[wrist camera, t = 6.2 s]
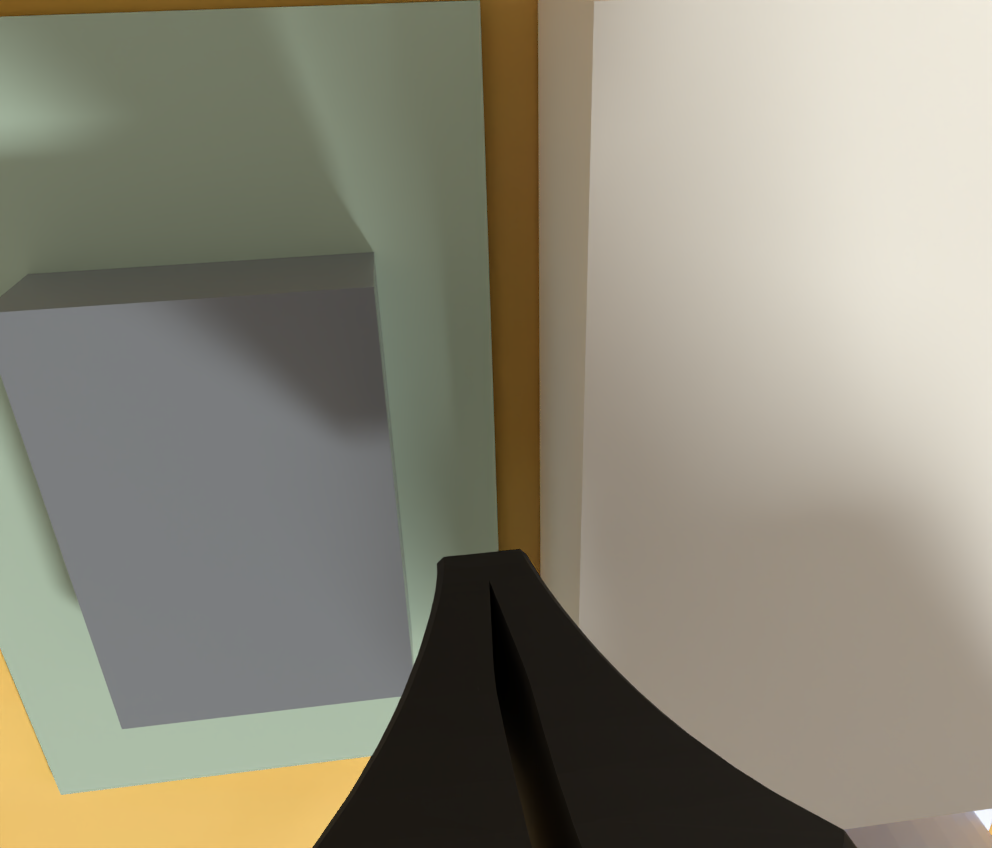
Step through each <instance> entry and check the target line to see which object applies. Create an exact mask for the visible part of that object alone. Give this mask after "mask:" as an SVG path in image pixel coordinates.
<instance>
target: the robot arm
mask: <svg viewBox="0 0 992 848" xmlns="http://www.w3.org/2000/svg"><path fill="white" fill-rule="evenodd" d="M991 823H992V809H986V810H979V811H972V812H965V813H957V814H950V815H943V816H936V817H929V818H922V819H915V820H908V821H901V822H894V823H887V824H880V825H873V826H866V827H859V828H852V829H845V830H843V829H841V828H840V827H838V826H836V825H834V824H832V823H830V822H828V821H827V820H825V819H823V818H821V817H819V816H817V815H816V814H814V813H812V812H810V811H808V810H806V809H804V808H803V807H801V806H799V805H797V804H795V803H793V802H792V801H790V800H788V799H786V798H784V797H782V796H781V795H779V794H777V793H775V792H774V791H772V790H770V789H769V788H767V787H765V786H764V785H762V784H761V783H759V782H758V781H756V780H754V779H753V778H751V777H750V776H748V775H746V774H745V773H743V772H742V771H740V770H739V769H737V768H735V767H734V766H733V765H731V764H730V763H728V762H727V761H726V760H724V759H723V758H722V757H720V756H719V755H717V754H716V753H715V752H713V751H712V750H710V749H709V748H708V747H706V746H705V745H704V744H702V743H701V742H699V741H698V740H697V739H695V738H694V737H692V736H691V735H690V734H688V733H687V732H686V731H685V730H683V729H682V728H681V727H680V726H679V725H677V724H676V723H675V722H674V721H673V720H671V719H670V718H669V717H668V716H666V715H665V714H664V713H663V712H662V711H660V710H659V709H658V708H657V707H656V706H655V705H654V704H653V703H651V702H650V701H649V700H648V699H647V698H646V697H645V696H644V695H643V694H641V693H640V692H639V691H638V690H637V689H636V688H635V687H634V686H633V685H632V684H631V683H630V682H629V681H628V680H627V679H626V678H625V677H624V676H623V675H622V674H621V673H620V672H619V671H618V670H617V669H616V668H615V667H614V666H613V665H612V664H611V663H610V662H609V661H608V660H607V659H606V658H605V657H604V656H603V654H602V653H601V652H600V651H599V650H598V649H597V648H596V647H595V646H594V645H593V643H592V642H591V641H590V640H589V639H588V638H587V637H586V635H585V634H584V633H583V632H582V631H581V629H580V628H579V627H578V626H577V625H576V623H575V622H574V621H573V620H572V619H571V617H570V616H569V615H568V614H567V612H566V611H565V610H564V609H563V607H562V606H561V605H560V603H559V602H558V601H557V599H556V598H555V597H554V595H553V594H552V593H551V591H550V590H549V588H548V587H547V586H546V584H545V583H544V581H543V580H542V578H541V577H540V575H539V574H538V572H537V571H536V569H535V568H534V566H533V565H532V563H531V561H530V560H529V558H528V556H527V554H525V553H524V552H523V551H522V550H520V549H516V550H506V551H496V552H486V553H476V554H466V555H456V556H447V557H443V558H442V559H441V560H440V561H439V562H438V563H437V580H436V588H435V594H434V599H433V603H432V608H431V612H430V616H429V620H428V623H427V626H426V630H425V633H424V636H423V640H422V643H421V646H420V649H419V652H418V655H417V658H416V660H415V663H414V666H413V668H412V671H411V673H410V676H409V678H408V681H407V684H406V686H405V689H404V691H403V694H402V696H401V698H400V700H399V703H398V705H397V707H396V709H395V711H394V714H393V716H392V718H391V720H390V722H389V724H388V726H387V728H386V730H385V732H384V734H383V736H382V738H381V740H380V742H379V744H378V746H377V747H376V749H375V751H374V753H373V754H372V756H371V758H370V760H369V761H368V763H367V765H366V767H365V769H364V770H363V772H362V774H361V776H360V777H359V779H358V781H357V782H356V784H355V786H354V787H353V789H352V790H351V792H350V794H349V795H348V797H347V798H346V800H345V801H344V803H343V804H342V806H341V807H340V809H339V810H338V811H337V813H336V814H335V816H334V817H333V819H332V820H331V822H330V823H329V825H328V826H327V827H326V829H325V830H324V832H323V833H322V835H321V836H320V838H319V839H318V841H317V842H316V843H315V845H314V846H313V848H992V835H991V834H990V833H989V829H990V826H991Z"/></svg>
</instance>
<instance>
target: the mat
mask: <svg viewBox="0 0 992 848" xmlns="http://www.w3.org/2000/svg"><path fill="white" fill-rule="evenodd" d="M365 252H374V256H375V266H376V276H377V286H378V296H379V306H380V316H381V326H382V336H383V346H384V356H385V366H386V376H387V386H388V396H389V406H390V416H391V426H392V436H393V446H394V456H395V466H396V476H397V486H398V496H399V506H400V516H401V526H402V536H403V546H404V556H405V566H406V576H407V586H408V596H409V606H410V616H411V626H412V641H413V659H414V663H415V660H416V658H417V655H418V652H419V649H420V646H421V643H422V640H423V636H424V633H425V630H426V626H427V623H428V620H429V616H430V612H431V608H432V603H433V599H434V594H435V588H436V580H437V563H438V562H439V561H440V560H441V559H442V558H443V557H447V556H456V555H466V554H476V553H486V552H496V551H499V549H498V519H497V489H496V460H495V430H494V400H493V371H492V341H491V311H490V282H489V252H488V223H487V193H486V163H485V134H484V104H483V74H482V45H481V15H480V0H469V1H440V2H411V3H382V4H353V5H323V6H294V7H265V8H236V9H207V10H178V11H148V12H119V13H90V14H61V15H32V16H3V17H0V296H1V295H3V294H4V293H5V292H6V291H8V290H9V289H10V288H11V287H13V286H14V285H15V284H16V283H17V282H19V281H20V280H21V279H22V278H24V277H25V276H26V275H27V274H35V273H51V272H67V271H82V270H98V269H114V268H129V267H145V266H161V265H177V264H192V263H208V262H224V261H239V260H255V259H271V258H287V257H302V256H318V255H334V254H349V253H365ZM0 649H1V651H2V654H3V656H4V659H5V661H6V663H7V666H8V668H9V671H10V673H11V675H12V678H13V680H14V683H15V685H16V688H17V690H18V692H19V695H20V697H21V700H22V702H23V704H24V707H25V709H26V712H27V714H28V716H29V719H30V721H31V724H32V726H33V728H34V731H35V733H36V736H37V738H38V740H39V743H40V745H41V748H42V750H43V753H44V755H45V757H46V760H47V762H48V765H49V767H50V769H51V772H52V774H53V777H54V779H55V781H56V784H57V786H58V789H59V791H60V793H61V795H63V794H71V793H79V792H87V791H95V790H103V789H111V788H119V787H127V786H135V785H143V784H151V783H159V782H167V781H175V780H183V779H191V778H199V777H207V776H215V775H223V774H231V773H239V772H247V771H255V770H263V769H271V768H279V767H288V766H296V765H304V764H312V763H320V762H328V761H336V760H344V759H352V758H360V757H368V756H372V754H373V753H374V751H375V749H376V747H377V746H378V744H379V742H380V740H381V738H382V736H383V734H384V732H385V730H386V728H387V726H388V724H389V722H390V720H391V718H392V716H393V714H394V711H395V709H396V707H397V705H398V703H399V700H400V698H401V697H392V698H384V699H375V700H367V701H358V702H350V703H341V704H333V705H324V706H316V707H307V708H299V709H290V710H282V711H273V712H265V713H256V714H248V715H239V716H231V717H222V718H214V719H205V720H197V721H189V722H180V723H172V724H163V725H155V726H146V727H138V728H129V729H122V728H121V725H120V722H119V719H118V716H117V713H116V711H115V708H114V705H113V702H112V699H111V696H110V693H109V690H108V687H107V684H106V681H105V678H104V676H103V673H102V670H101V667H100V664H99V661H98V658H97V655H96V652H95V649H94V646H93V643H92V641H91V638H90V635H89V632H88V629H87V626H86V623H85V620H84V617H83V614H82V611H81V609H80V606H79V603H78V600H77V597H76V594H75V591H74V588H73V585H72V582H71V579H70V576H69V574H68V571H67V568H66V565H65V562H64V559H63V556H62V553H61V550H60V547H59V544H58V541H57V539H56V536H55V533H54V530H53V527H52V524H51V521H50V518H49V515H48V512H47V509H46V507H45V504H44V501H43V498H42V495H41V492H40V489H39V486H38V483H37V480H36V477H35V474H34V472H33V469H32V466H31V463H30V460H29V457H28V454H27V451H26V448H25V445H24V442H23V440H22V437H21V434H20V431H19V428H18V425H17V422H16V419H15V416H14V413H13V410H12V407H11V405H10V402H9V399H8V396H7V393H6V390H5V387H4V384H3V381H2V378H1V375H0Z"/></svg>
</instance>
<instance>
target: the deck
mask: <svg viewBox="0 0 992 848" xmlns="http://www.w3.org/2000/svg"><path fill="white" fill-rule="evenodd" d="M538 132H539V370H540V577H541V578H542V580H543V581H544V583H545V584H546V586H547V587H548V588H549V590H550V591H551V593H552V594H553V595H554V597H555V598H556V599H557V601H558V602H559V603H560V605H561V606H562V607H563V609H564V610H565V611H566V612H567V614H568V615H569V616H570V617H571V619H572V620H573V621H574V622H575V623H576V625H577V626H578V627H579V628H580V629H581V631H582V632H583V633H584V634H585V635H586V637H587V638H588V639H589V640H590V641H591V642H592V643H593V645H594V646H595V647H596V648H597V649H598V650H599V651H600V652H601V653H602V654H603V656H604V657H605V658H606V659H607V660H608V661H609V662H610V663H611V664H612V665H613V666H614V667H615V668H616V669H617V670H618V671H619V672H620V673H621V674H622V675H623V676H624V677H625V678H626V679H627V680H628V681H629V682H630V683H631V684H632V685H633V686H634V687H635V688H636V689H637V690H638V691H639V692H640V693H641V694H643V695H644V696H645V697H646V698H647V699H648V700H649V701H650V702H651V703H653V704H654V705H655V706H656V707H657V708H658V709H659V710H660V711H662V712H663V713H664V714H665V715H666V716H668V717H669V718H670V719H671V720H673V721H674V722H675V723H676V724H677V725H679V726H680V727H681V728H682V729H683V730H685V731H686V732H687V733H688V734H690V735H691V736H692V737H694V738H695V739H697V740H698V741H699V742H701V743H702V744H704V745H705V746H706V747H708V748H709V749H710V750H712V751H713V752H715V753H716V754H717V755H719V756H720V757H722V758H723V759H724V760H726V761H727V762H728V763H730V764H731V765H733V766H734V767H735V768H737V769H739V770H740V771H742V772H743V773H745V774H746V775H748V776H750V777H751V778H753V779H754V780H756V781H758V782H759V783H761V784H762V785H764V786H765V787H767V788H769V789H770V790H772V791H774V792H775V793H777V794H779V795H781V796H782V797H784V798H786V799H788V800H790V801H792V802H793V803H795V804H797V805H799V806H801V807H803V808H804V809H806V810H808V811H810V812H812V813H814V814H816V815H817V816H819V817H821V818H823V819H825V820H827V821H828V822H830V823H832V824H834V825H836V826H838V827H840V828H841V829H843V830H845V829H852V828H859V827H866V826H873V825H880V824H887V823H894V822H901V821H908V820H915V819H922V818H929V817H936V816H943V815H950V814H957V813H965V812H972V811H979V810H986V809H992V0H538Z"/></svg>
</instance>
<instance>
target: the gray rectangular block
mask: <svg viewBox="0 0 992 848" xmlns="http://www.w3.org/2000/svg"><path fill="white" fill-rule="evenodd" d="M0 375H1V378H2V381H3V384H4V387H5V390H6V393H7V396H8V399H9V402H10V405H11V407H12V410H13V413H14V416H15V419H16V422H17V425H18V428H19V431H20V434H21V437H22V440H23V442H24V445H25V448H26V451H27V454H28V457H29V460H30V463H31V466H32V469H33V472H34V474H35V477H36V480H37V483H38V486H39V489H40V492H41V495H42V498H43V501H44V504H45V507H46V509H47V512H48V515H49V518H50V521H51V524H52V527H53V530H54V533H55V536H56V539H57V541H58V544H59V547H60V550H61V553H62V556H63V559H64V562H65V565H66V568H67V571H68V574H69V576H70V579H71V582H72V585H73V588H74V591H75V594H76V597H77V600H78V603H79V606H80V609H81V611H82V614H83V617H84V620H85V623H86V626H87V629H88V632H89V635H90V638H91V641H92V643H93V646H94V649H95V652H96V655H97V658H98V661H99V664H100V667H101V670H102V673H103V676H104V678H105V681H106V684H107V687H108V690H109V693H110V696H111V699H112V702H113V705H114V708H115V711H116V713H117V716H118V719H119V722H120V725H121V728H122V729H129V728H138V727H146V726H155V725H163V724H172V723H180V722H189V721H197V720H205V719H214V718H222V717H231V716H239V715H248V714H256V713H265V712H273V711H282V710H290V709H299V708H307V707H316V706H324V705H333V704H341V703H350V702H358V701H367V700H375V699H384V698H392V697H401V696H402V694H403V691H404V689H405V686H406V684H407V681H408V678H409V676H410V673H411V671H412V668H413V666H414V659H413V641H412V626H411V616H410V606H409V596H408V586H407V576H406V566H405V556H404V546H403V536H402V526H401V516H400V506H399V496H398V486H397V476H396V466H395V456H394V446H393V436H392V426H391V416H390V406H389V396H388V386H387V376H386V366H385V356H384V346H383V336H382V326H381V316H380V306H379V296H378V286H377V276H376V266H375V256H374V252H365V253H349V254H334V255H318V256H302V257H287V258H271V259H255V260H239V261H224V262H208V263H192V264H177V265H161V266H145V267H129V268H114V269H98V270H82V271H67V272H51V273H35V274H27V275H26V276H25V277H24V278H22V279H21V280H20V281H19V282H17V283H16V284H15V285H14V286H13V287H11V288H10V289H9V290H8V291H6V292H5V293H4V294H3V295H1V296H0Z"/></svg>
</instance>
